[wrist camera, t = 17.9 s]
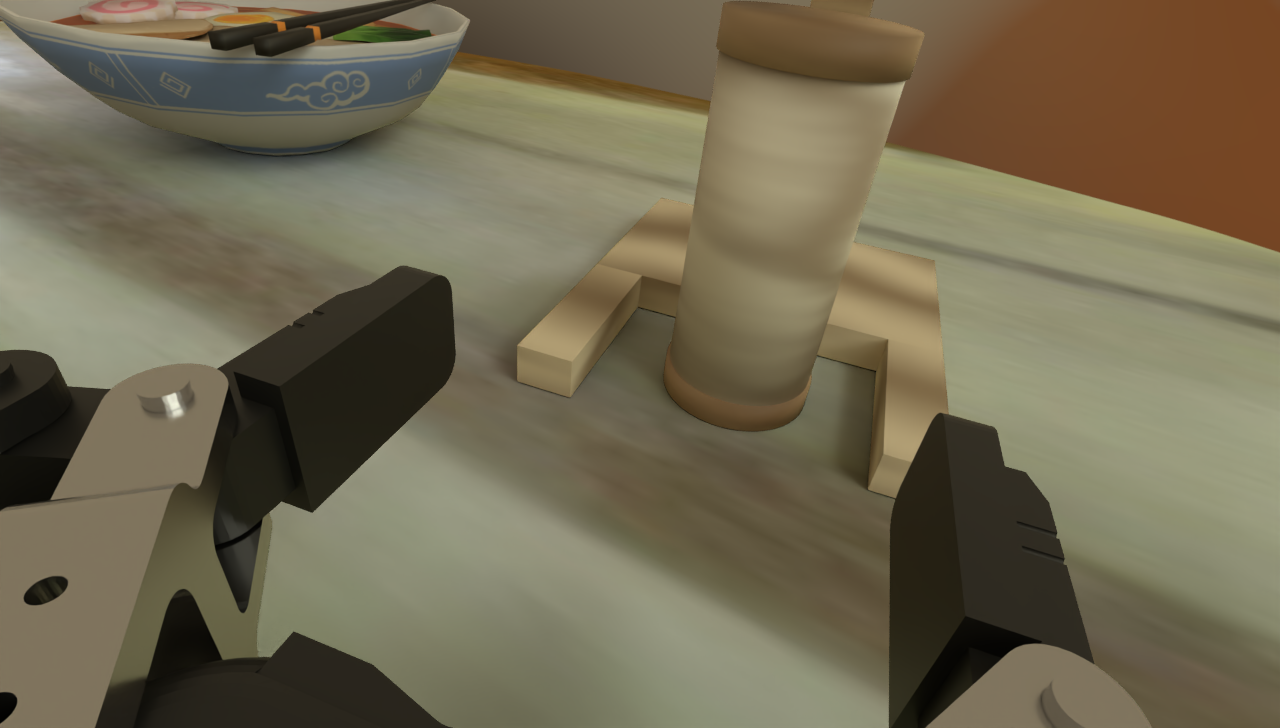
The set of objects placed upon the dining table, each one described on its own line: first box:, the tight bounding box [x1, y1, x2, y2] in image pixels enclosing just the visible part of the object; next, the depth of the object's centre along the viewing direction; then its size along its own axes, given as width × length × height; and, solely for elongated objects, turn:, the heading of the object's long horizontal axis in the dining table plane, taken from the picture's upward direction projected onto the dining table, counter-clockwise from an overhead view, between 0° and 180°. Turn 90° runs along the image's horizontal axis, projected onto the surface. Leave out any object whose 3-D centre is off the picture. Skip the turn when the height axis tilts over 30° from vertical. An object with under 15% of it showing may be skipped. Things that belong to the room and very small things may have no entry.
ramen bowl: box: [0, 0, 470, 156], centre depth 38 cm, size 25×23×8 cm
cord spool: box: [663, 1, 925, 431], centre depth 20 cm, size 5×5×12 cm
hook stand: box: [517, 0, 949, 498], centre depth 21 cm, size 16×14×22 cm
